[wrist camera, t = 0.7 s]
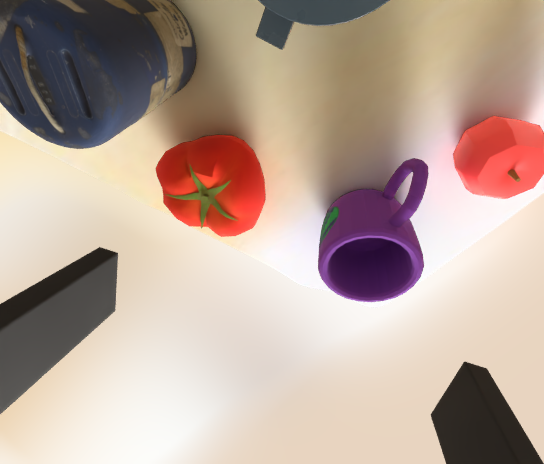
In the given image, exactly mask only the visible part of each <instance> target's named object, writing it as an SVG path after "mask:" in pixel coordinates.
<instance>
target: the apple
mask: <svg viewBox="0 0 544 464" xmlns="http://www.w3.org/2000/svg"><path fill="white" fill-rule="evenodd" d="M453 157H454V164H455V168H456V170H457V172H458V174H459V176H460V178H461V180H462V182H463V184H464V186H465V188H466V189H467V190H468V191H470V192H471V193H472V194H476V195H482V196H488V197H494V198H500V199H506V198H510V197H512V196H515V195H517V194H520V193H522V192H525V191H527V190H529V189H532V188H534V187H535V185H536V184H537V183H538V181H539V180H540V179H541V177H542V176H543V175H544V132H543V131H542V129H541V127H540V126H539V125H536V124H532V123H529V122H525V121H522V120H517V119H510V118H504V117H497V116H492V117H490V118H488V119H486V120H484V121H482V122H480V123H478V124H477V125H475V126H473V127H471V128H469V129H467V130H465V132H464V134H463V135H462V137H461V139H460V141H459V143H458V145H457V147H456V149H455V151H454V153H453Z"/></svg>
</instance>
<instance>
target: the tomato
mask: <svg viewBox="0 0 544 464" xmlns="http://www.w3.org/2000/svg"><path fill="white" fill-rule="evenodd" d="M156 173H157V177H158V179H159V181H160V184H161V186H162V188H163V199H164V204H165V205H166V207H167V208H168V209H169V210H170V211H171V213H172V214H173V215H174V216H175V217H176V218H177V219H178V220H180V221H182V222H183V223H185V224H187V225H188V226H200V227H209V228H210V229H211V230H212V231H214V232H215V233H216V234H218V235H219V236H221V237H222V236H236V235H239V234H241V233H243V232H245V231H247V230H250V229H252V228H253V227H254V225H255V224H256V222H257V220H258V218H259V215H260V213H261V211H262V208H263V205H264V203H265V183H264V177H263V173H262V169H261V166H260V163H259V161H258V159H257V157H256V155H255V153H254V151H253V150H252V149H251V148H250V146H249V145H248V144H247V143H246V142H245V141H244V140H242V139H239V138H237V137H234V136H231V135H212V136H204V137H201V138H199V139H197V140H194V141H189V142H183V143H180V144H178V145H177V146H175V147H173V148H171V149H169V150H168V151H166V152H165V153H164V155H163V156H162V158H161V159H160V161H159V162H158V165H157V167H156Z"/></svg>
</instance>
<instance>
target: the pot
mask: <svg viewBox="0 0 544 464" xmlns="http://www.w3.org/2000/svg"><path fill="white" fill-rule="evenodd" d="M293 24H294V21H290V20H288V19H286V18H284V17H282V16H280V15H277V14H276V13H274V12H273V11H271V10H270V9H268V8H267V7H265V10H264V13H263V16H262V19H261V22H260V24H259V27H258V30H257V33H256V36H257V37H259V38H260V39H262V40H264V41H266V42H268V43H270V44H272V45H273V46H275V47H277V48H279V49H281V50H283V48H284V47H285V44H286V42H287V39H288V37H289V34H290V32H291V29H292V27H293Z"/></svg>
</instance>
